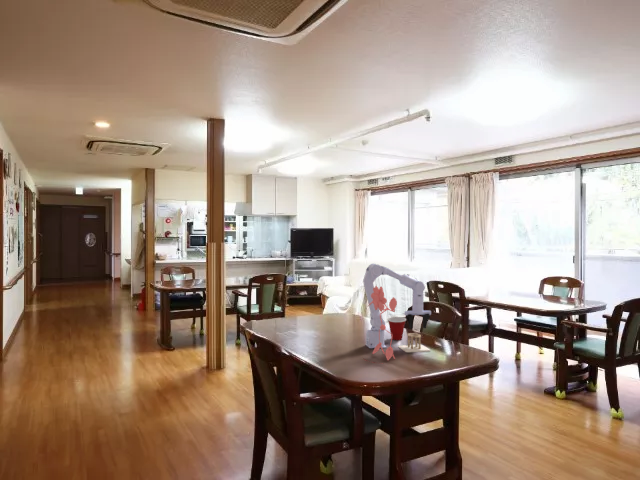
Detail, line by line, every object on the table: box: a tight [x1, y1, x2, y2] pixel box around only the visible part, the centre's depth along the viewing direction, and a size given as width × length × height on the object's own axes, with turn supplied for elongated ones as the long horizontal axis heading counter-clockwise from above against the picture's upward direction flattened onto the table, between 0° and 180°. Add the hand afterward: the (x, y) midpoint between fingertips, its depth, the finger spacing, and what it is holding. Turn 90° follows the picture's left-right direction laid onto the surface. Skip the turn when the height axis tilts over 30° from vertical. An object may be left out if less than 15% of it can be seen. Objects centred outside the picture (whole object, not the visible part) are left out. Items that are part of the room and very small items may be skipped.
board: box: [398, 344, 431, 353], centre depth 229 cm, size 13×11×1 cm
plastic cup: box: [386, 316, 407, 341], centre depth 251 cm, size 11×11×12 cm
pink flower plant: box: [362, 285, 398, 365], centre depth 211 cm, size 15×26×35 cm, turn 24°
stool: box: [407, 332, 422, 349], centre depth 229 cm, size 5×5×7 cm
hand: (417, 328), depth 236 cm, fingers open, 7 cm apart
